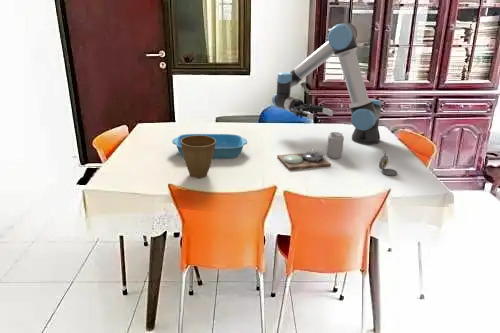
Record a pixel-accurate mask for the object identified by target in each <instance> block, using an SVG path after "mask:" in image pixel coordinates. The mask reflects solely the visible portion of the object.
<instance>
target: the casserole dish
mask: <svg viewBox="0 0 500 333" xmlns="http://www.w3.org/2000/svg"><path fill="white" fill-rule="evenodd" d="M194 135H203V136H209V137H212V138H214V139H215V140H216V144H215V150H214V155H213V159H212V160H223V159H224V160H225V159H230V160H231V159H236V158H238V157H239V156H240V155H241V154H242V151H243V147H244V146H245V145H247V144H248V140H247V138H244V137H242V136H241V135H238V134H232V133H228V134H227V133H186V134H181V135H179V136H177V137H174V138H173V139H172V141H171V143H172V144H174V145H175V146H176V148H177V151H178V153H179V155H180V156H181V157H183V158H184V156H183V152H182V146H181V139H182V138H184V137H187V136H194Z"/></svg>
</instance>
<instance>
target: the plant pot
mask: <svg viewBox="0 0 500 333" xmlns="http://www.w3.org/2000/svg"><path fill="white" fill-rule="evenodd" d="M215 144H216V140H215V139H214V138H212V137H209V136H203V135H194V136H187V137H184V138H182V139H181V146H182V152H183V156H184V157H183V159H184V162H185V165H186V168H187V171H188V173H189V175H190V176H191V177H192V178H195V179H202V178H206V177H207V176H208V173H209V170H210V168H211V164H212V161H213V160H214V159H213V155H214V150H215Z"/></svg>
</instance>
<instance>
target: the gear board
mask: <svg viewBox="0 0 500 333" xmlns="http://www.w3.org/2000/svg"><path fill="white" fill-rule="evenodd" d="M316 152H317V153H318V151H316ZM302 153H303V152H302ZM302 153H292V154H291V153H290V154H289V153H287V154H278V155H276V156H277V158H276V159H278V161H279V162H280V163H281V164H282V165H283V167H285V169H287V170H288V171H297V170H298V171H299V170H310V169H319V168H320V169H321V168H331V167H332V163H331V162H330V161H329V160H328V159H326V158H325V157H324V158H323V161H319V162H318V163H315V162H307V161H305V160H302V162H301V163H299V164H290V163H286V162H284V160H283V158H284V156H287V155H297V156H300V157H302ZM318 154H320V153H318Z"/></svg>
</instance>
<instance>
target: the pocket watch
mask: <svg viewBox="0 0 500 333" xmlns="http://www.w3.org/2000/svg"><path fill="white" fill-rule="evenodd" d="M378 163H379V165H378V167H379V170H381V173H382V174H384V175H387V176H396V175H397V174H398V171H397V170H396V169H392V168H386V167H387V166H388V164H389V157H388V155H387V152H385V151H383V156H382V157H381V158H380V160H379V162H378Z"/></svg>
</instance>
